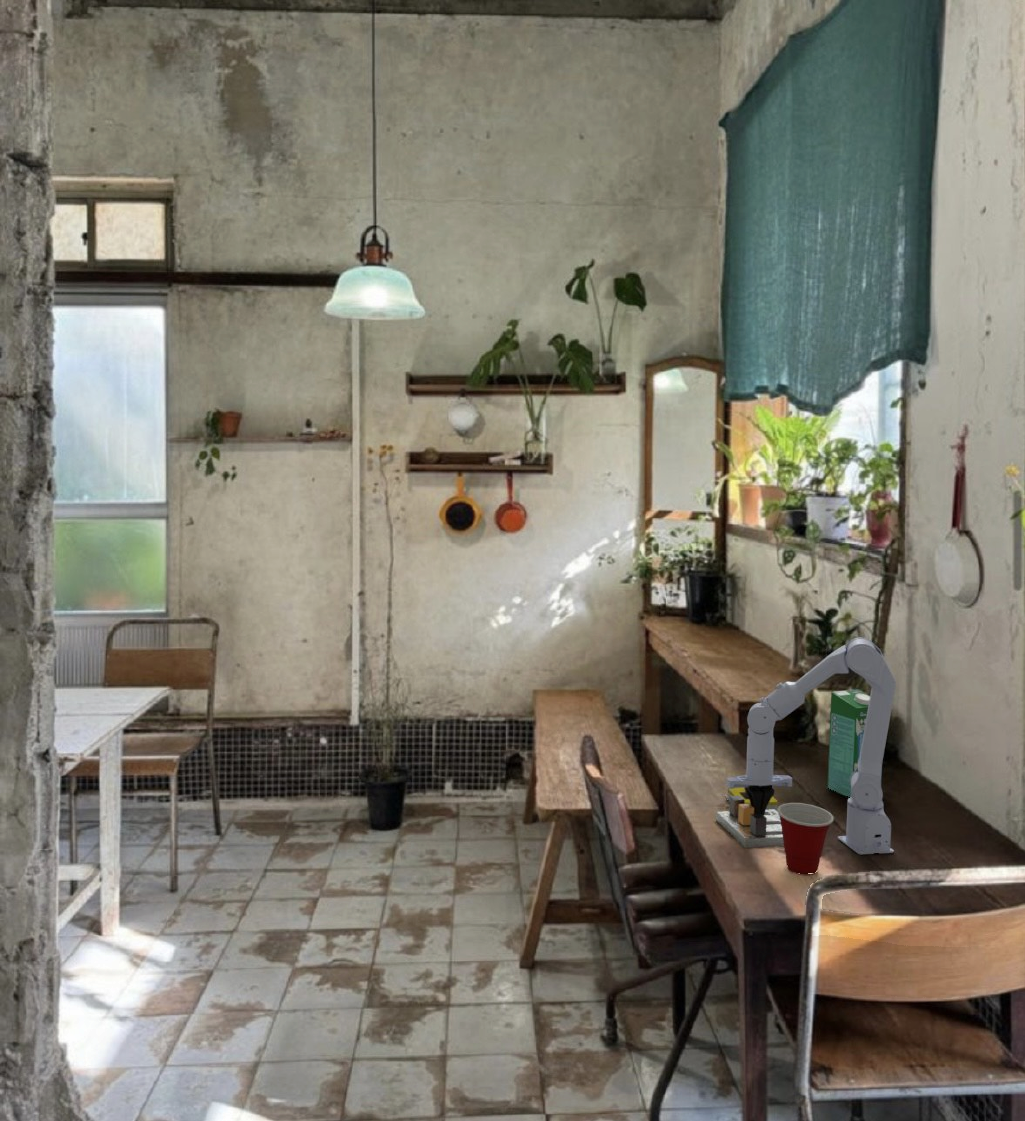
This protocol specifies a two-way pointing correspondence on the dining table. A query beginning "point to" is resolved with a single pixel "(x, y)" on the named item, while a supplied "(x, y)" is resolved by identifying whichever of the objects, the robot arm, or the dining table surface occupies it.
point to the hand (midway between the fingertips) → (758, 818)
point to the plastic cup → (803, 835)
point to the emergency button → (743, 794)
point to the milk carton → (846, 737)
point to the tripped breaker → (745, 813)
